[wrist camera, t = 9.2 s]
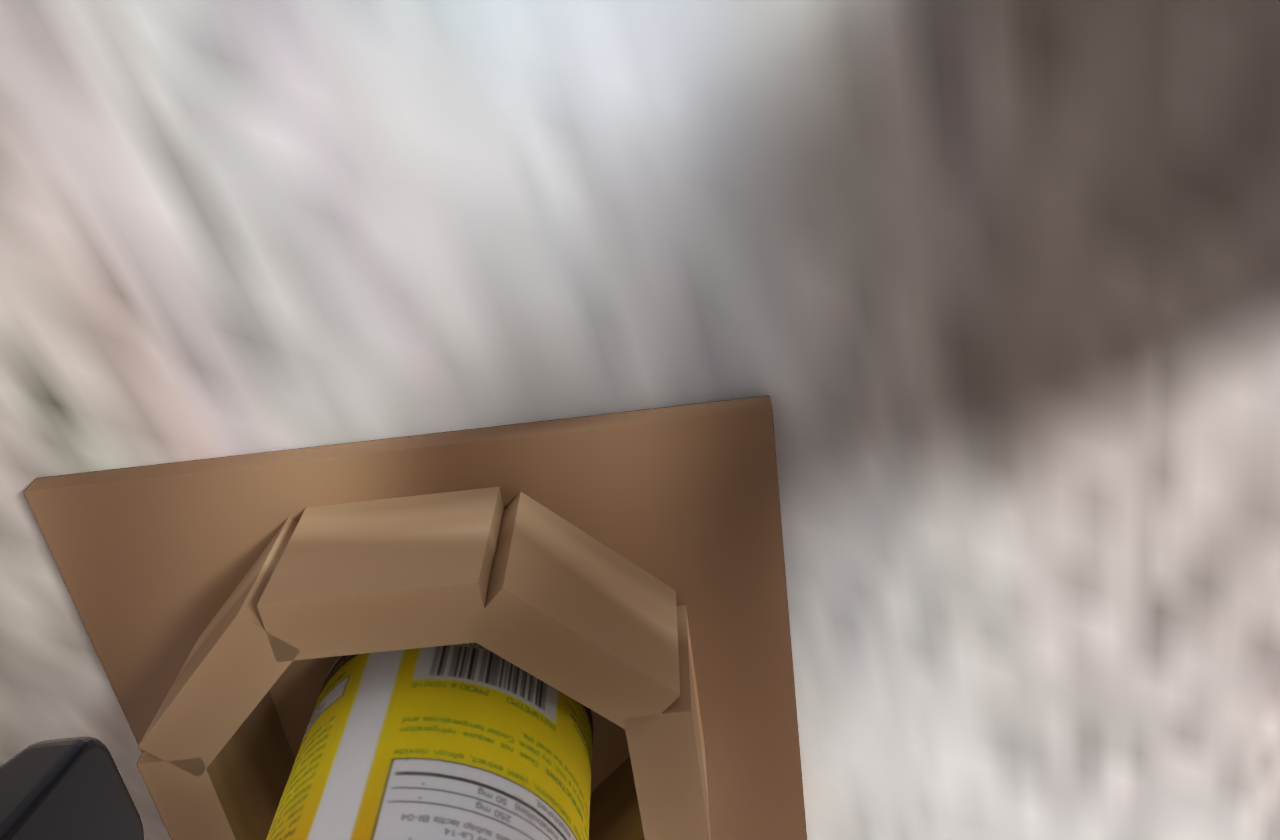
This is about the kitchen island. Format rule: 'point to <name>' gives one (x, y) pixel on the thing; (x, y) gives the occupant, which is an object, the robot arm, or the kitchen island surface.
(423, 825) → the supplement bottle
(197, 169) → the kitchen island surface
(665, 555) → the caddy
